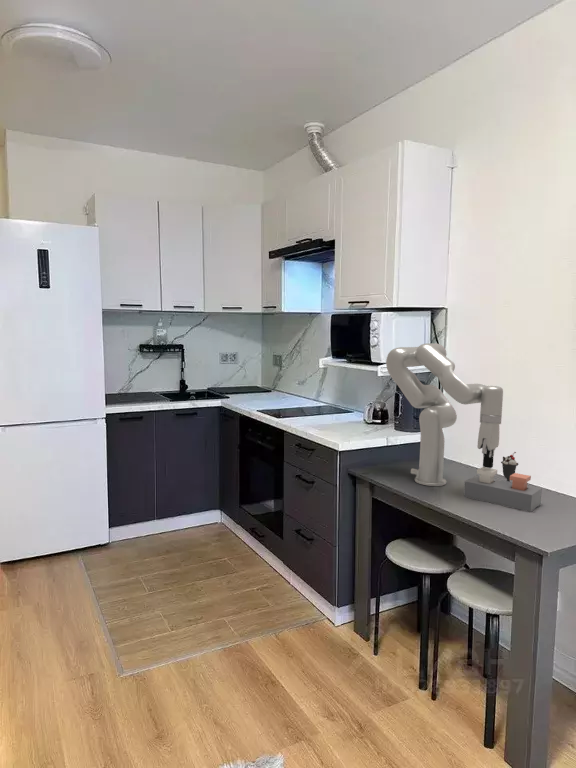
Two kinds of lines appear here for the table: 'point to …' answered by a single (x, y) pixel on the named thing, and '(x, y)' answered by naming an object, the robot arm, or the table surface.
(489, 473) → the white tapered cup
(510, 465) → the sundae
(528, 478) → the pink block
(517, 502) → the block
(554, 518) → the table surface
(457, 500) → the table surface
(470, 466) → the table surface
